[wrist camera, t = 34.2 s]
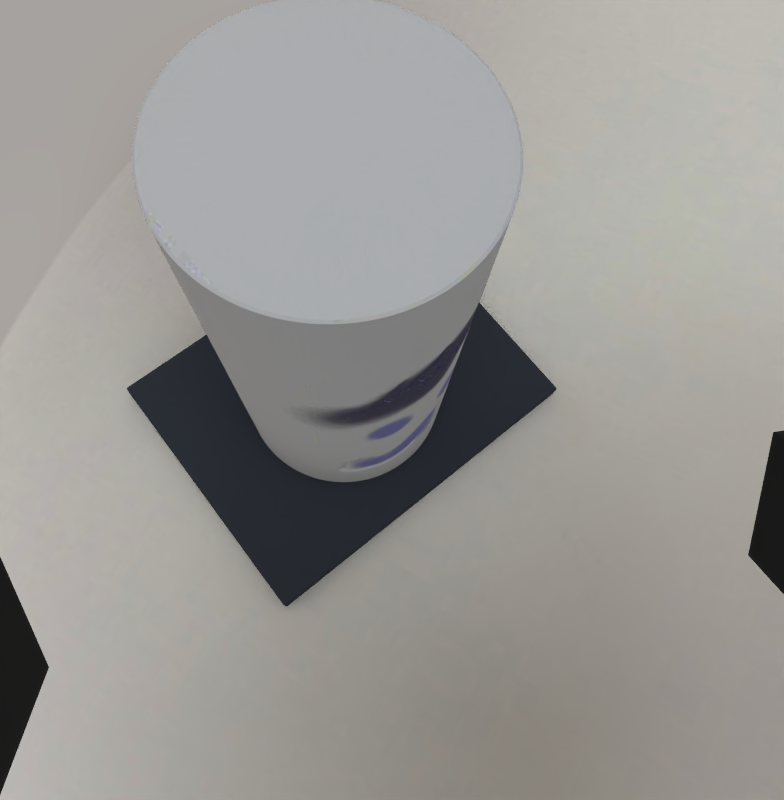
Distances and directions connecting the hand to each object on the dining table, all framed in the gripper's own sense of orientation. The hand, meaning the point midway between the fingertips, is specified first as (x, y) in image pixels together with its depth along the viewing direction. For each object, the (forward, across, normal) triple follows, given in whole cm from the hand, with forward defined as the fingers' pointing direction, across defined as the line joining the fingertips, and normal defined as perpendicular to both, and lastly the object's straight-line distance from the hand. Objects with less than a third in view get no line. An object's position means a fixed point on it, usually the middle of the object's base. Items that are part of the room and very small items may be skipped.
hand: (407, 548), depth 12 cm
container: (+24, 0, -9) cm, 25 cm away
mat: (+24, 0, -9) cm, 26 cm away
